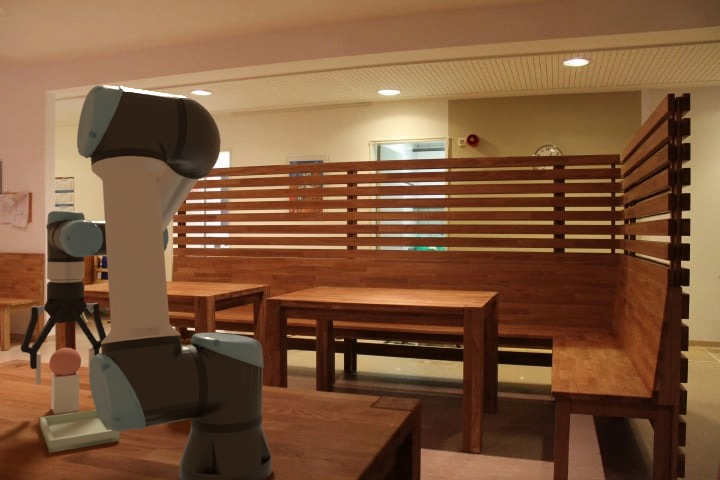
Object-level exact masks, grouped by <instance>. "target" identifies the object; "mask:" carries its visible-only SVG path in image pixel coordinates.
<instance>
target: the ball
mask: <svg viewBox="0 0 720 480" xmlns="http://www.w3.org/2000/svg"><path fill="white" fill-rule="evenodd" d="M48 362H49V365H48V366H49V369H50V371H51V373H54V374H55V375H57V376H68V375H73V374H75V373H76V372H78V371H79V369H80V368H81V364H82V358H81V354H80V353H79V352H78V351H77V350H76V349H74V348H71V347H63V348H59V349H57V350H56V351H54V352H53V353H52V355H51V356H50V358H49V361H48Z"/></svg>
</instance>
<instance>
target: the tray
mask: <svg viewBox="0 0 720 480" xmlns="http://www.w3.org/2000/svg"><path fill="white" fill-rule="evenodd" d="M39 429H40V432H41V434H42V436H43V439H44V442H45V446H46V448H47V450H48V453H57V452H63V451H67V450H68V451H69V450H74V449H80V448H81V449H82V448H86V447H92V446H99V445H104V444H109V443H115V442H116V443H117V442H120V431H118V432H117V431H112V430H110V429H108V428H107V427H106V426H105V425H104V424H103V422H102V421H101V419H100V417H99V415H98V413H97V410H96V408H95V409H89V410H82V411H80V410H79V411H74V412H66V413H59V414H52V415H46V416H40V417H39Z"/></svg>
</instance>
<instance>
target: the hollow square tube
mask: <svg viewBox="0 0 720 480" xmlns="http://www.w3.org/2000/svg"><path fill="white" fill-rule="evenodd" d="M50 396H51V397H50V399H51V400H50V401H51V404H50V405H51V406H50V407H51V411H52V412H53V415H59V414H66V413H73V412H80V374H79V372H78V371H77V372H76V373H75V374H73V375H68V376H57V375H55V374H54V373H53V372H51V395H50Z"/></svg>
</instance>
